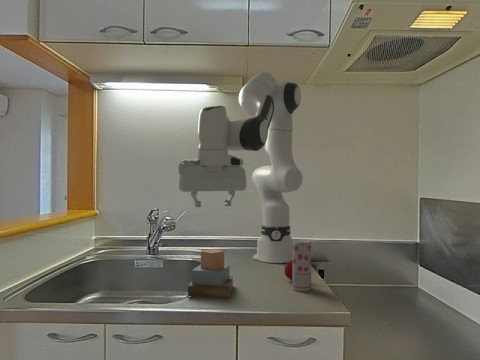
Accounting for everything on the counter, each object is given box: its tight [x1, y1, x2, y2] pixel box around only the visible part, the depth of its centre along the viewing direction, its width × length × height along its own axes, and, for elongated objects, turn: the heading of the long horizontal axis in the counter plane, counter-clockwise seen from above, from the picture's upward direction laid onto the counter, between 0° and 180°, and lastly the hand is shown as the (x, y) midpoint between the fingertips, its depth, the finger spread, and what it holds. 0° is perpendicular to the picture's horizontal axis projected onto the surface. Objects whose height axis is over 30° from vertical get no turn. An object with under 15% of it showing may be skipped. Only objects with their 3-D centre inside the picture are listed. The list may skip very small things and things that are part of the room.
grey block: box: [191, 263, 230, 286], centre depth 119 cm, size 9×9×4 cm
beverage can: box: [291, 238, 312, 292], centre depth 122 cm, size 6×6×15 cm
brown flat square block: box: [187, 275, 234, 299], centre depth 119 cm, size 12×12×4 cm
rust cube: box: [200, 248, 225, 270], centre depth 119 cm, size 5×5×5 cm
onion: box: [283, 258, 293, 282], centre depth 130 cm, size 6×6×8 cm
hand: (213, 206), depth 117 cm, fingers open, 8 cm apart
